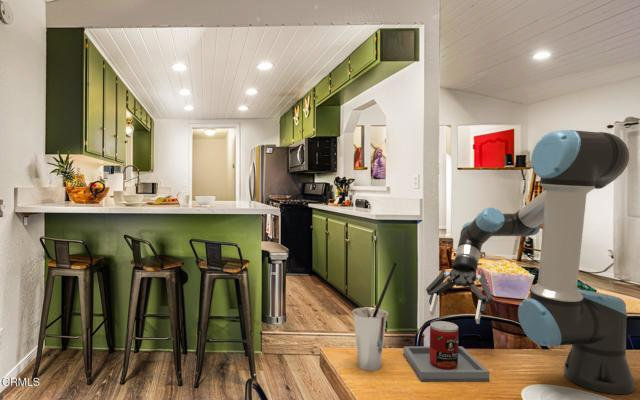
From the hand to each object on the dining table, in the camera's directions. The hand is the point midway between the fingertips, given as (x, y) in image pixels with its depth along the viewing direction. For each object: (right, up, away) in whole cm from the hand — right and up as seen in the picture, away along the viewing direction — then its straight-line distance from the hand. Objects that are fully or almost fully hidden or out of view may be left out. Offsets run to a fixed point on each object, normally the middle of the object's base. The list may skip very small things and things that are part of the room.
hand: (453, 317), depth 121 cm
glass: (-26, -11, -9) cm, 30 cm away
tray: (-6, -11, -9) cm, 15 cm away
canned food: (-6, -11, -8) cm, 15 cm away
